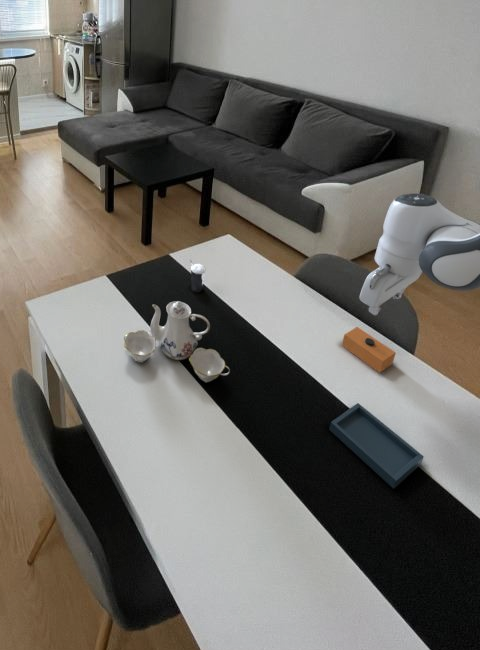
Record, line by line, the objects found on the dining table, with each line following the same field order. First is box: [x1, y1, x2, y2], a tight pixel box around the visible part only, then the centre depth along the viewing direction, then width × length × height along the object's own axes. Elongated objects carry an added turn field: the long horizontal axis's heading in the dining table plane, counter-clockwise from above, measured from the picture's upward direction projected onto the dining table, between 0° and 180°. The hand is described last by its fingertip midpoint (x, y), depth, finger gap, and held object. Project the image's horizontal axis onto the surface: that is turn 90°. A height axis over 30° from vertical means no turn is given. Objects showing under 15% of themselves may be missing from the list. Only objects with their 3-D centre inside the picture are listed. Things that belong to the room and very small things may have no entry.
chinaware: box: [123, 300, 231, 383], centre depth 113 cm, size 28×17×17 cm, turn 73°
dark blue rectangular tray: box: [328, 402, 425, 490], centre depth 91 cm, size 14×10×2 cm
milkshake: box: [189, 259, 206, 293], centre depth 138 cm, size 4×5×10 cm
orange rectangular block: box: [341, 326, 397, 374], centre depth 112 cm, size 10×6×5 cm, turn 27°
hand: (384, 305), depth 104 cm, fingers open, 8 cm apart
